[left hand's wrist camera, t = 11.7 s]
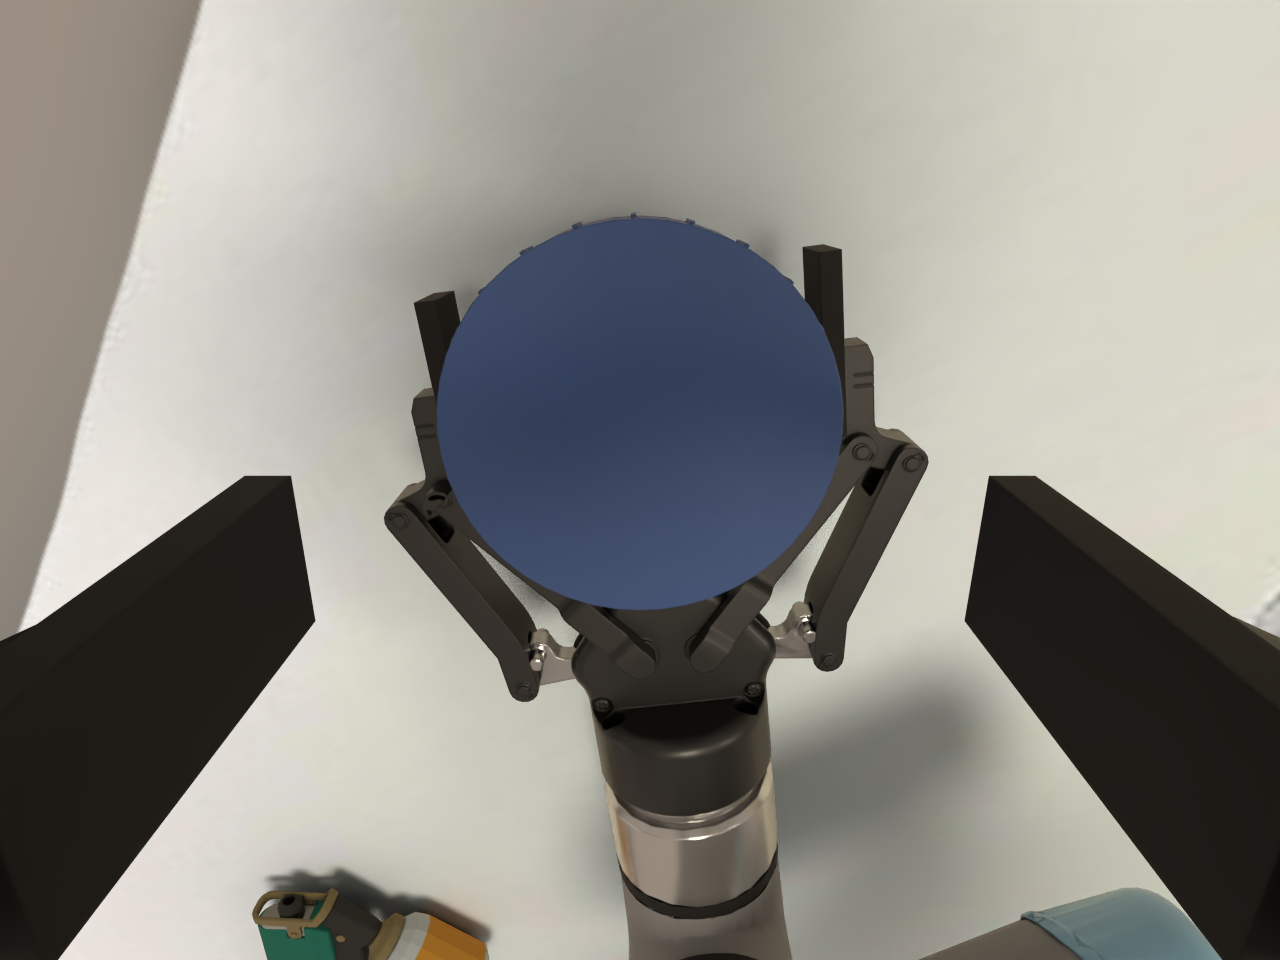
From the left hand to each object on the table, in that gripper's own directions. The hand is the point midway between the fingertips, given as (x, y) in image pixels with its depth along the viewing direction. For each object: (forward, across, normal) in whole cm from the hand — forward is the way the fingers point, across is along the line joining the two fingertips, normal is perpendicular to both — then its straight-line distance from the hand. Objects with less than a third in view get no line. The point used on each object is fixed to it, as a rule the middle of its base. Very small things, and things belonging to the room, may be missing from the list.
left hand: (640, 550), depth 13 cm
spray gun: (+23, +16, +40) cm, 49 cm away
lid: (+7, 0, 0) cm, 7 cm away
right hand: (+16, 0, -3) cm, 16 cm away
